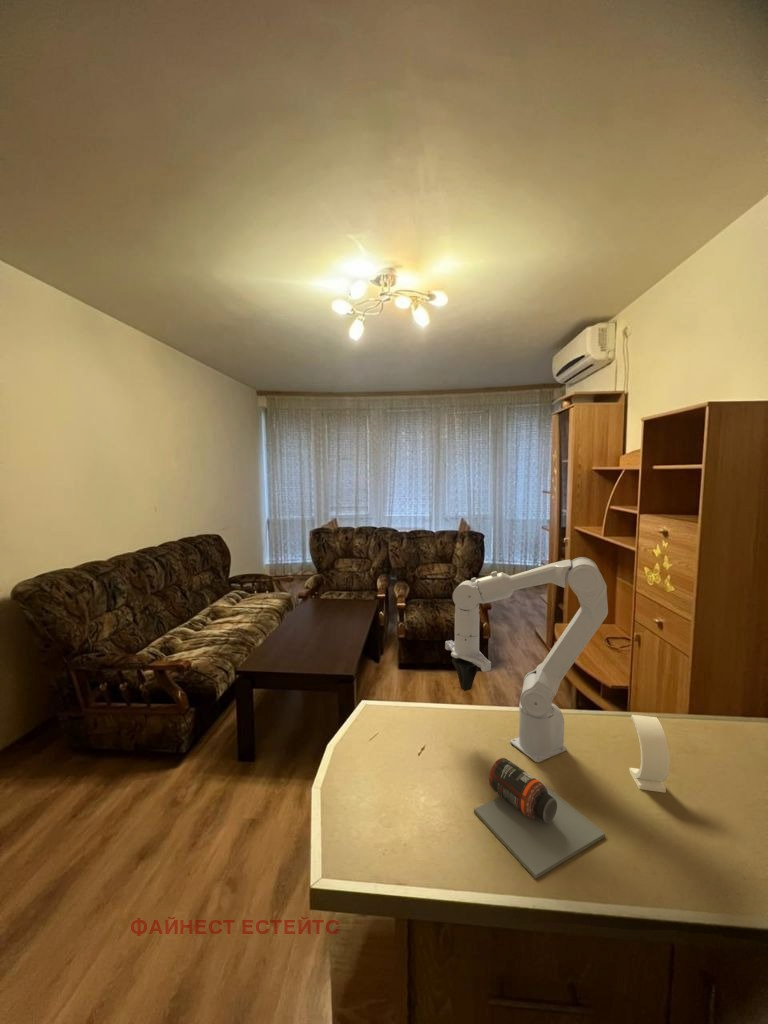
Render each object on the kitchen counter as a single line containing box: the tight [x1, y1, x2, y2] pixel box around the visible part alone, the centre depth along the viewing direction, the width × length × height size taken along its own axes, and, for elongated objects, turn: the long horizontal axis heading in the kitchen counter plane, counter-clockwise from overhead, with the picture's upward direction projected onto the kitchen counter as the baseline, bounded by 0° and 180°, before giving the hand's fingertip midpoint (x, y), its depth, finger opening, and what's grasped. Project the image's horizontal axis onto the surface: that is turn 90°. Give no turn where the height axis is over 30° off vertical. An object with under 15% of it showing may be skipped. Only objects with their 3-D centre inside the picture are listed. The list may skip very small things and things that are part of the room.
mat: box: [473, 779, 606, 880], centre depth 70 cm, size 16×14×1 cm
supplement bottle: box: [488, 757, 557, 823], centre depth 73 cm, size 6×6×11 cm
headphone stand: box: [628, 714, 671, 793], centre depth 79 cm, size 5×6×12 cm
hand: (466, 688), depth 96 cm, fingers closed
